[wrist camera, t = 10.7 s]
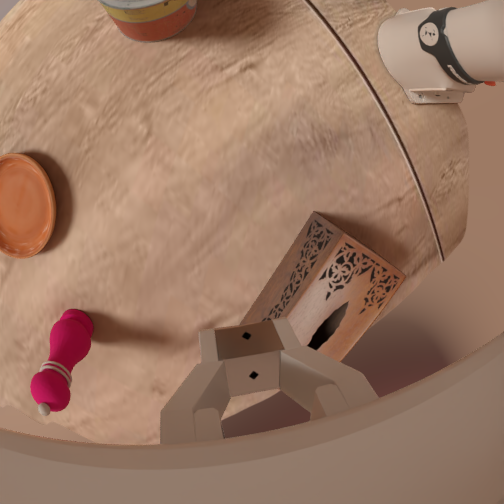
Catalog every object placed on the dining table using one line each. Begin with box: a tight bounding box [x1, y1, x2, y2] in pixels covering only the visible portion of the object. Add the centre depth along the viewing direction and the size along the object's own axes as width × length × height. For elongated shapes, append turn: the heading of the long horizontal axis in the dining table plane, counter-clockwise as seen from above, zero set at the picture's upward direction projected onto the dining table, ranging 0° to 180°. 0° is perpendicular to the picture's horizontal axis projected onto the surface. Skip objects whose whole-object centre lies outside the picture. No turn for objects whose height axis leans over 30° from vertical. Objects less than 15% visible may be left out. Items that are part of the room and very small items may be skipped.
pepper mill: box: [30, 309, 94, 416], centre depth 33 cm, size 7×7×20 cm
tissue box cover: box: [240, 211, 406, 389], centre depth 44 cm, size 26×14×10 cm, turn 148°
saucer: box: [0, 153, 56, 259], centre depth 31 cm, size 16×16×3 cm
